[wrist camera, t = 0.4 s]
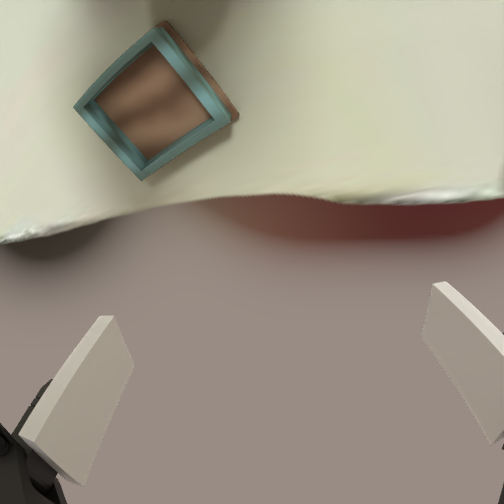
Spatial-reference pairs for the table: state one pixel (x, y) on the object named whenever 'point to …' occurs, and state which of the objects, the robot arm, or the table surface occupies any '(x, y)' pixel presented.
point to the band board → (155, 102)
